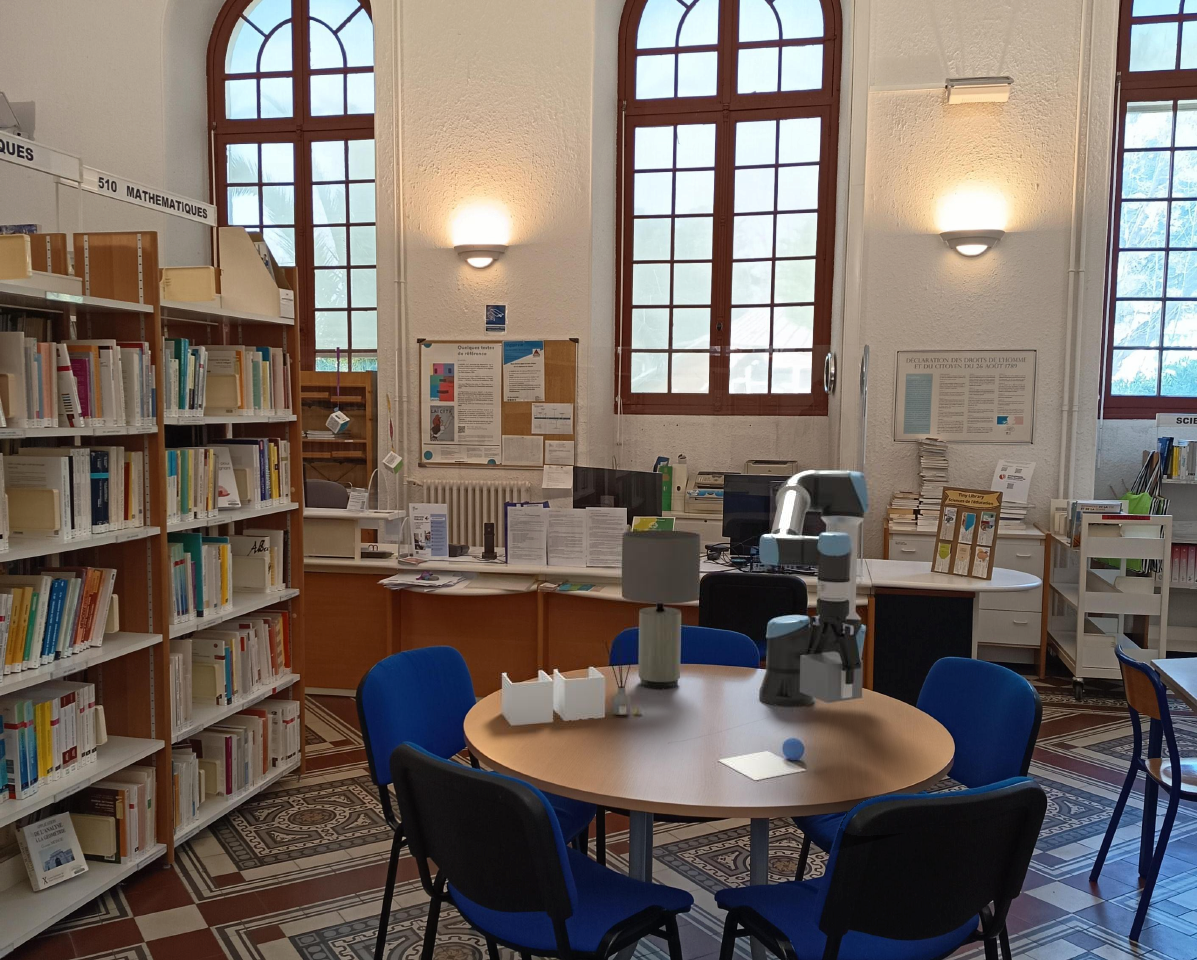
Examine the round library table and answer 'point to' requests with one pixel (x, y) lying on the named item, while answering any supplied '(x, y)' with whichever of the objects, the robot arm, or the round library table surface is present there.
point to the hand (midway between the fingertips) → (830, 691)
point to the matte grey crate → (826, 677)
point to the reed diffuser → (622, 691)
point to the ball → (793, 749)
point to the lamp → (660, 596)
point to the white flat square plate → (761, 765)
